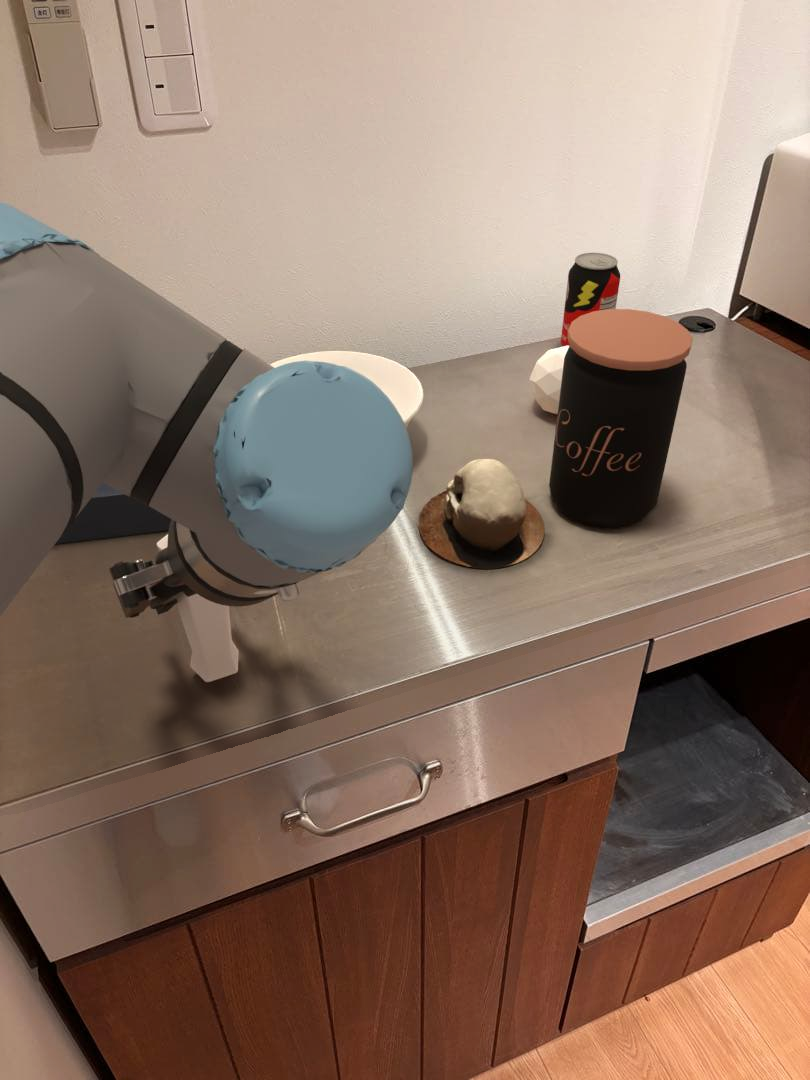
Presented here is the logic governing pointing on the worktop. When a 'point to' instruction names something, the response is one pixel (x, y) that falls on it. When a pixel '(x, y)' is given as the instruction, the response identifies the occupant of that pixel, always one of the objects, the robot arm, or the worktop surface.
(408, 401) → the bowl
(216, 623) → the perfume bottle
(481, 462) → the skull
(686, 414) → the worktop surface
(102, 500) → the bin
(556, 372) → the geometric ball
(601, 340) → the coffee jar
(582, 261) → the beverage can
